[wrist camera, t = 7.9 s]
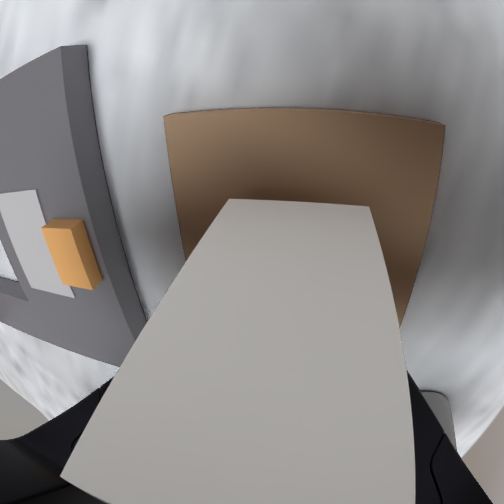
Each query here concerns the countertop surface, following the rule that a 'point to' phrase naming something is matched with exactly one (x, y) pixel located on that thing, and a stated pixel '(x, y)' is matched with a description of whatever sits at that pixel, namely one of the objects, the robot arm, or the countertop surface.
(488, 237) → the countertop surface
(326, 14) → the countertop surface
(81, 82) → the grey square tray
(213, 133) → the rest pad
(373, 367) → the plug
